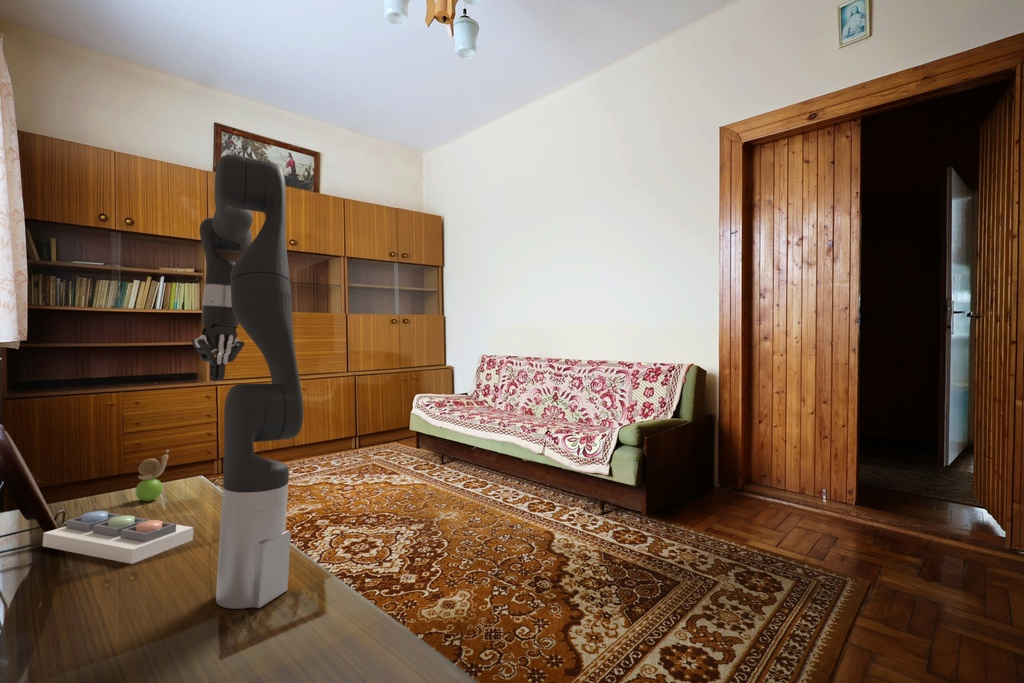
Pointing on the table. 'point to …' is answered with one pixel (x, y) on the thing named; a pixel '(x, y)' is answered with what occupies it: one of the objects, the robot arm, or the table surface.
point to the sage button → (121, 521)
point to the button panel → (116, 539)
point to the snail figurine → (150, 478)
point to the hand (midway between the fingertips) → (216, 380)
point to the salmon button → (149, 526)
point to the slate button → (94, 516)
